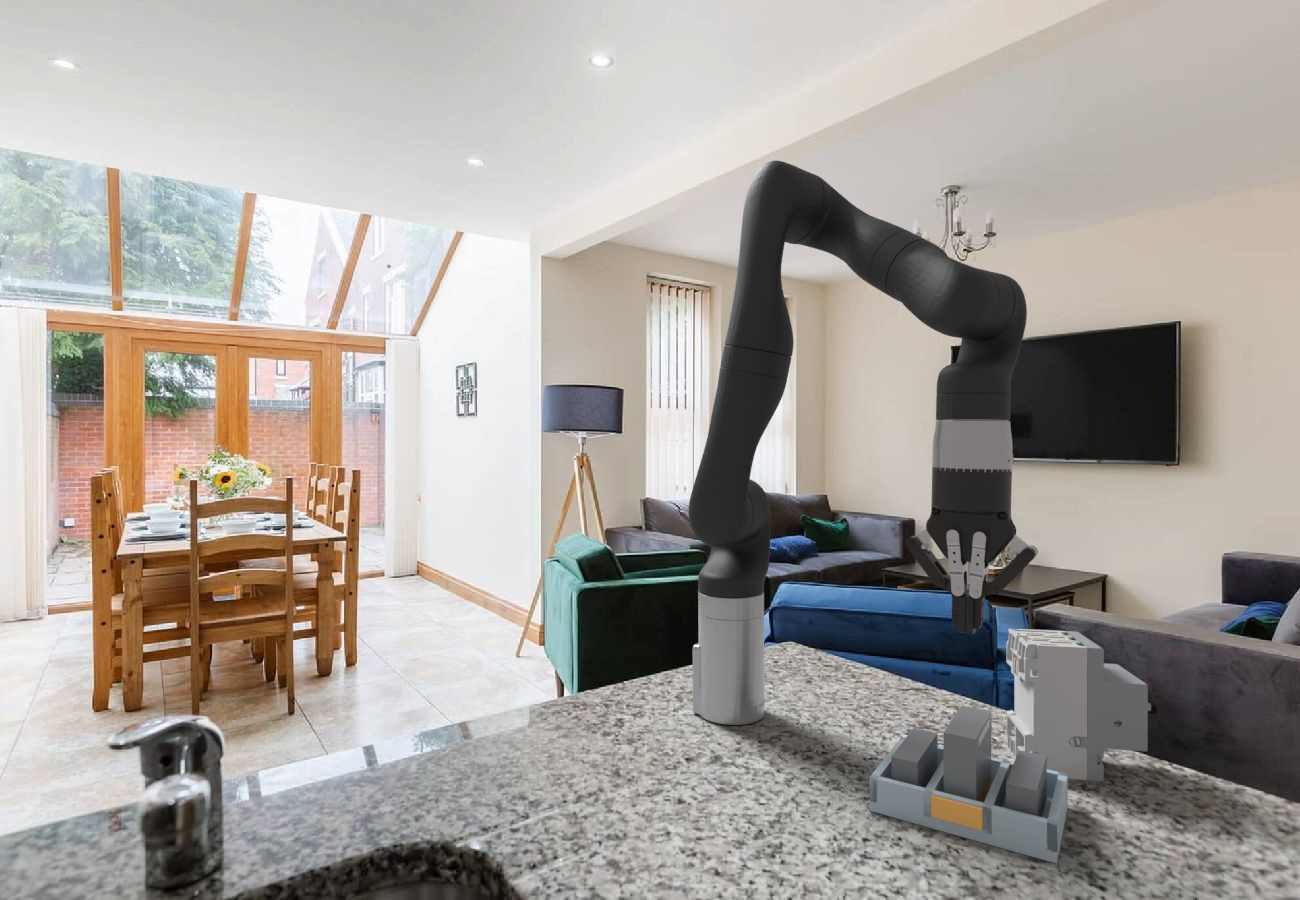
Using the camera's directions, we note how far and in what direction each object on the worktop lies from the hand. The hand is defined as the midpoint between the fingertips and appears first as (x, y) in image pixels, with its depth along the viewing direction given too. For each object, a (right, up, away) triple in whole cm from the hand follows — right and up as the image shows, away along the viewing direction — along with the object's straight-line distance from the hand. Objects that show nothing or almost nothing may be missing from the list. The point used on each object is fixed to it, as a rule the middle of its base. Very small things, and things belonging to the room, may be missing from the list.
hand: (967, 631), depth 75 cm
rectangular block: (0, -18, +1) cm, 18 cm away
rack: (0, -19, 0) cm, 19 cm away
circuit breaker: (+18, -19, +10) cm, 28 cm away
